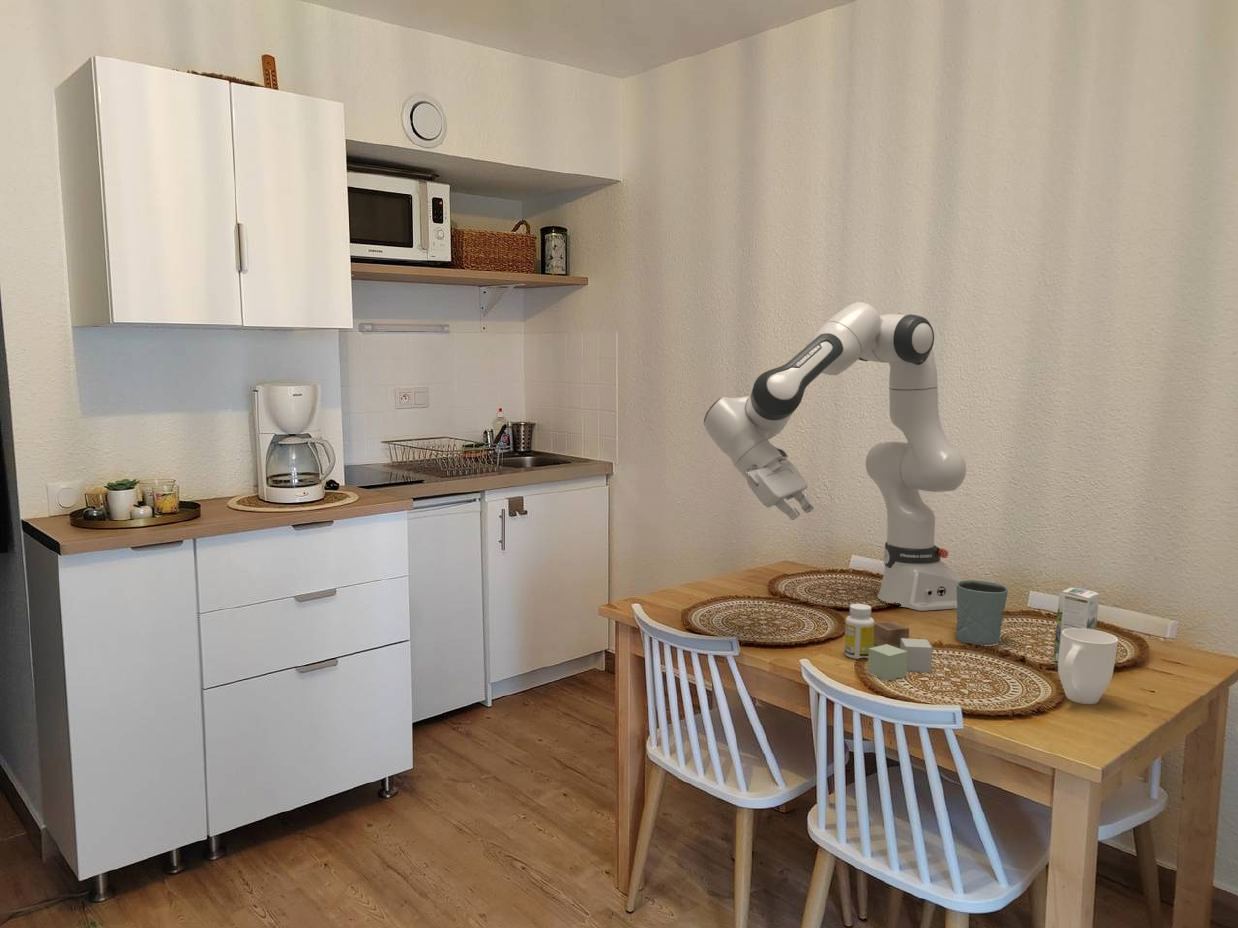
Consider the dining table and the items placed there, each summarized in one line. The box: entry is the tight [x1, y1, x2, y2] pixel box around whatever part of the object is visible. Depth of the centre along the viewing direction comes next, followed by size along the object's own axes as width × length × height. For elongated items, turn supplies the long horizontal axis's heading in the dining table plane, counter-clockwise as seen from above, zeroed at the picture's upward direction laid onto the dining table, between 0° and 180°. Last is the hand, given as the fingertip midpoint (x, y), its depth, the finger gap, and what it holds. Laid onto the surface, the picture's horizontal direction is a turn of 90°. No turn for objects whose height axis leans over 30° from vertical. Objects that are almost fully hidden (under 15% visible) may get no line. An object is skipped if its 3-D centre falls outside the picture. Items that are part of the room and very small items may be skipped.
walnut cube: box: [874, 620, 910, 649], centre depth 188 cm, size 5×5×5 cm
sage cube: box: [867, 644, 908, 681], centre depth 172 cm, size 5×5×5 cm
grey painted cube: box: [900, 638, 933, 673], centre depth 177 cm, size 5×5×5 cm
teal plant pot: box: [955, 579, 1009, 645], centre depth 193 cm, size 10×10×12 cm
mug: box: [1057, 628, 1119, 705], centre depth 160 cm, size 12×9×12 cm
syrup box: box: [1052, 587, 1100, 661], centre depth 180 cm, size 6×6×14 cm
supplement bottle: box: [844, 603, 875, 660], centre depth 183 cm, size 6×6×10 cm
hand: (803, 514), depth 186 cm, fingers open, 8 cm apart
